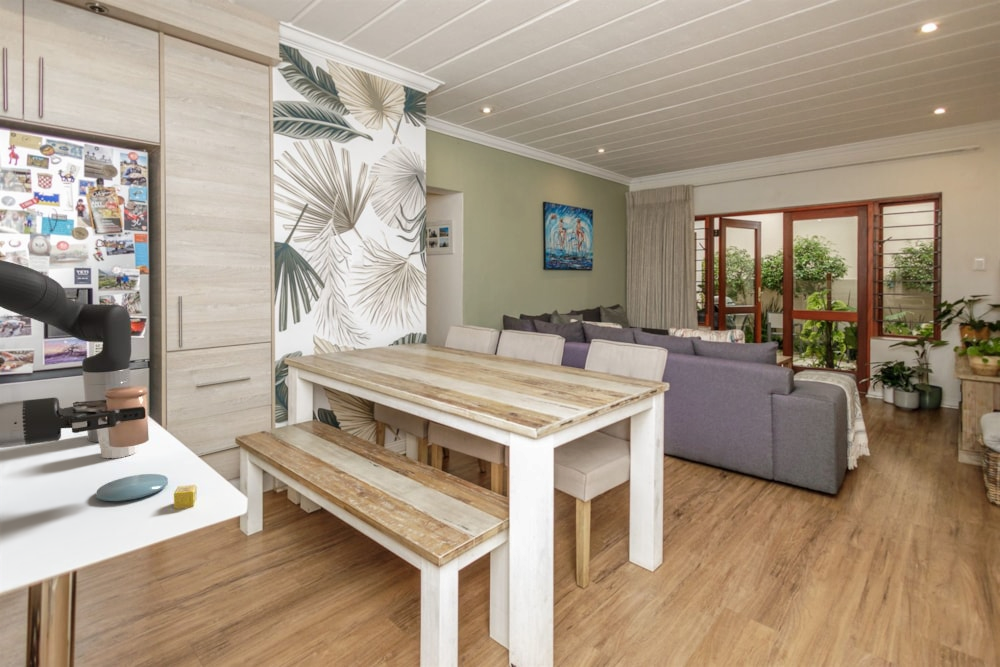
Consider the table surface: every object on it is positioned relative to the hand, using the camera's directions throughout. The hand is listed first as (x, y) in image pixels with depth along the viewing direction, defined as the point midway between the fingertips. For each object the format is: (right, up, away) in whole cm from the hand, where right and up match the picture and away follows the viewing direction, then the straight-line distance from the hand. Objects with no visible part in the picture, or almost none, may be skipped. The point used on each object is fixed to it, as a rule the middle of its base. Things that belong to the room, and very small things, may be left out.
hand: (143, 408), depth 96 cm
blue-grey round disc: (-2, -16, 0) cm, 16 cm away
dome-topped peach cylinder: (-2, -6, -1) cm, 7 cm away
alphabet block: (+11, -17, -4) cm, 21 cm away
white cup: (-19, -14, +20) cm, 31 cm away
